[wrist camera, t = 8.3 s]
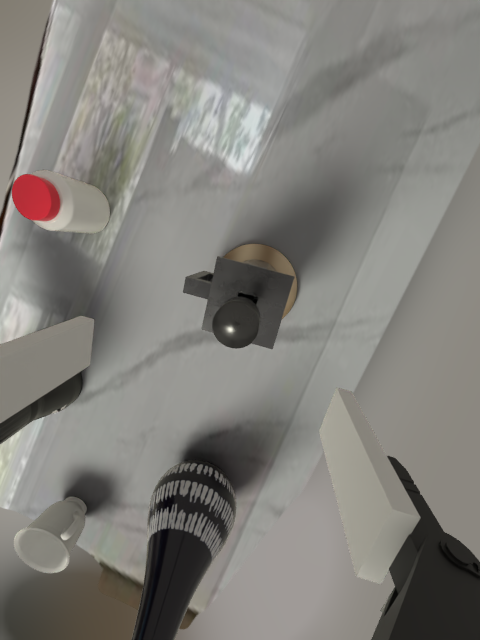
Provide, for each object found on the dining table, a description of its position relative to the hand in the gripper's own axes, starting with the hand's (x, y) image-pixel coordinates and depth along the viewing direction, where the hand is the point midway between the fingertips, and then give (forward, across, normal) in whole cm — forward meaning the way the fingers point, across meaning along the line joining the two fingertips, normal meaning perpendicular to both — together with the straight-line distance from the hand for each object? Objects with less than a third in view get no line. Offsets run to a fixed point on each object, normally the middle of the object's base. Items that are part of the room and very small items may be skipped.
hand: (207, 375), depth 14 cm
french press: (+31, -1, 0) cm, 31 cm away
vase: (+32, 0, -41) cm, 52 cm away
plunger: (+28, 0, 0) cm, 29 cm away
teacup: (+32, -26, -60) cm, 73 cm away
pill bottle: (+32, -30, +6) cm, 44 cm away
